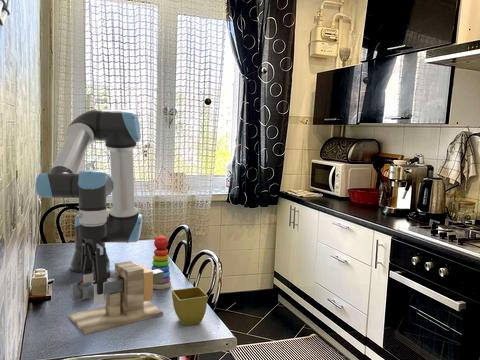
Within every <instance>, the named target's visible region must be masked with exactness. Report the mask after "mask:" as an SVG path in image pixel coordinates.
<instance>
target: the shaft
mask: <svg viewBox="0 0 480 360" xmlns="http://www.w3.org/2000/svg"><path fill="white" fill-rule="evenodd" d="M150 270H151V271H153V284H158V283H163V282H164V272H163V271H161V270H160V269H156V270H152V269H150ZM93 282H95V281H91V282H86V283H81V284H80V283H79V282H77V283H76V282H75V283H71V284H70V285H69V287H70V288H69V295H70V298H71V301H72V302H73V303H75V302H79V301H80V302H81V301H82V300H87V299H86V298H88V299H89V298H94V284H93ZM120 291H124V278H123V277H122V276H118V277H115V276H113V277H110V278H107V282H104V296H105V294H110V293H115V292H120Z"/></svg>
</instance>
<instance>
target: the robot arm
mask: <svg viewBox="0 0 480 360" xmlns="http://www.w3.org/2000/svg"><path fill="white" fill-rule="evenodd" d="M139 121H140V120H139V117H138V114H137V113H136V112H134V111H133V110H125V109H92V110H88V111H85V112H83V113H81V114H80V115H78V116H77V117H76V118H75V119H73V120H72V121H71V122H70V124H69V125H68V127H67V129H66V138H65V140H64V142H63V144H62V147H61V148H60V151H59V152H58V155H57V156H56V159H55V160H54V163H53V165H52V167H51V169H50V170H49V172H44V173H43V172H42V173H39V174H38V175H37V177H36V179H35V190H36V193H37V196H39V197H40V198H50V199H71V198H72V199H78V210H79V211H78V213H77V214H76V215H75V217H74V225H73V227H74V252H73V255H72V259H71V262H70V269H71V271H73V272H76V273H82V274H83V278H84V283H86V282H91V281H93V273H92V272H94V278H95V282H93V284H94V297H93V305H94V306H95V307H96V306H102V305H105V295H104V282H107V268H106V266H107V267H108V268H109V269H110V266H111V265H110V262H111V261H110V258H109V255H108V253H107V247H106V244H107V243H112V244H113V243H114V244H115V243H116V244H117V243H121V244H122V243H124V244H125V243H127V244H130V243H137V242H139V240H140V238H141V237H140V236H141V233H142V226H143V217H144V215H143V214H141V213H139V209H138V207H136V206H135V205H136V204H135V181H134V180H135V177H134V149H135V148H136V147H137V143H138V142H140V141H141V126H140V122H139ZM94 141H101V142H103V141H104V143H105V148H107V150H109V159H110V160H109V161H110V174H108V173H106V171H105V170H103V169H85V170H84V169H83V170H80V171H79V172H78V170H79V167H80V165H81V163H82V161H83V158H84V156H85V154H86V151H87V149H88V146H89V145H91V144H92V143H93V142H94ZM110 195H111V199H112V200H111V201H112V207H111V208H110V209H109V211H108V213H107V197H108V196H110ZM90 273H91V274H90Z"/></svg>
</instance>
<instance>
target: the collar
mask: <svg viewBox="0 0 480 360" xmlns="http://www.w3.org/2000/svg"><path fill="white" fill-rule="evenodd" d="M137 265H138V266H139V267H141V268H143V269H144V302H145V301H148V302H150V301H153V300H154V289H153V271H151V270H152V269H149V268H148V267H146V266H144V265H143V264H141V263H140V264H139V263H138V264H137Z"/></svg>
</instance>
